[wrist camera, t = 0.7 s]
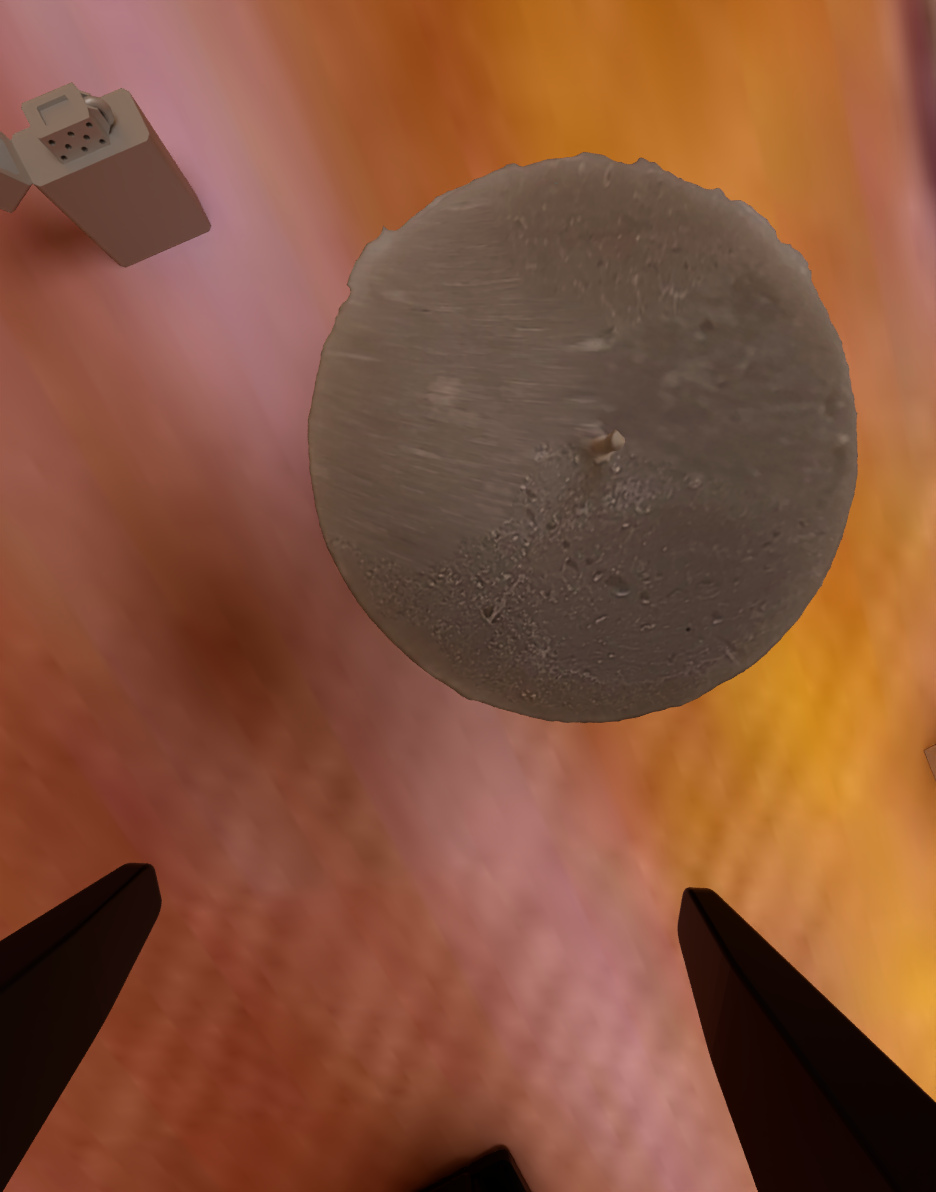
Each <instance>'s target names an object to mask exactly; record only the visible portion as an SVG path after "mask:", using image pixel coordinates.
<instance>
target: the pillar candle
mask: <svg viewBox="0 0 936 1192" xmlns="http://www.w3.org/2000/svg"><path fill="white" fill-rule="evenodd" d="M811 274H812V273H811V270H809V268H808V262H807V261H806V260H805V259H804V257H803V256H802V254H801V253H800V252H798V251H797V250H795V249H794V248H792V247H791V245H790V244H784V243H781V242H780V240H778V238H777V235H776V231H775V229H774V228H773V227H772V226H771V225H770V224H769V222H768V220H767V219H766V218H764V217H763V216H761V215H760V214H758V213H757V212H756V211H755V210H754V209H753V208H752V207H751V206H750V205H748V204H746V203H745V202H743V201H741V200H734V201H731V200H729V199H728V198H727V197H726V196H725V195H724V192H723V191H722V190H721V189H719V188H716V189H713V190H708V189H704V188H702V187H700V186H698V185H696V184H693V183H690V182H686V181H684V180H682V179H681V178H677V177H676V176H675V175H673V174H672V173H670V172H668V171H664V170H662V169H661V167H660V166H658V165H657V164H656V163H655V162H648V161H647V160H646V159H644V158H639V159H638V161H637V162H635V163H633V164H624V163H622V162H616V161H613V160H611V159H609V158H608V157H606V156H604V155H600V154H593V153H586V152H583V153H581V154H579V155H577V156H575V157H567V158H560V159H548V160H544V161H541V162H537V163H534V164H530V165H527V166H524V167H521V166H519V165H517V164H515V163H514V164H509V165H506V166H505V167H504V168H501V169H499V170H496V171H493V172H492V173H490V174H488V175H486V176H484V177H481V178H478V179H475V180H473V181H472V182H470V183H469V184H467V185H464V186H462V187H459V188H456V189H454V190H452V191H448V192H446V193H445V194H443V195H441V196H438V197H436V198H435V199H434V200H433V201H432V202H431V203H430V204H428V205H427V206H426V207H425V208H424V209H423V210H421V211H420V212H418V213H417V214H416V215H415V216H413V217H412V218H411V219H409V220H408V221H407V222H406V223H405V224H404V225H403V226H402V227H401V228H400V229H398V230H396V231H392V230H387V229H386V228H385V227H384V226H383V230H382V233H381V235H380V236H379V237H378V238H377V239H375V240H374V241H372V242H370V243H368V244H367V245H366V246H365V248H364V250H363V251H362V253H361V255H360V257H359V259H358V260H356V262H355V265H354V267H353V269H352V272H351V274H350V276H349V280H348V283H347V285H348V287H349V288H350V291H351V293H350V296H349V297H348V299H347V300H346V301H345V302H344V303H343V304H342V305H341V307H340V308H339V313H338V315H337V316H336V320H335V324H334V327H333V330H332V332H331V333H330V335H329V336H328V338H327V339H326V341H325V343H324V345H323V350H322V352H321V360H320V365H319V369H318V373H317V377H316V382H315V388H314V393H313V397H312V405H311V409H310V413H309V418H308V444H309V460H310V466H309V468H310V475H311V481H312V487H313V493H314V500H315V507H316V511H317V514H318V518H319V524H320V527H321V530H322V534H323V537H324V540H325V542H326V545H327V548H328V550H329V552H330V554H331V556H332V558H333V560H334V562H335V564H336V566H337V567H338V569H339V571H340V573H341V575H342V577H343V579H344V581H345V582H346V584H347V586H348V588H349V589H350V591H351V592H352V594H353V595H354V597H355V598H356V600H357V602H358V603H359V604H360V606H361V607H362V608H363V610H364V611H365V612H366V613H367V615H368V616H369V618H370V619H371V620H372V621H373V622H374V623H375V624H376V625H377V626H378V627H379V629H380V630H381V631H382V632H383V633H384V634H385V635H386V636H387V637H388V638H389V639H390V640H391V641H392V642H393V643H394V644H395V645H396V646H397V647H398V648H399V649H401V650H402V651H403V652H404V653H405V654H406V655H407V656H408V657H409V658H410V659H411V660H412V661H413V662H415V663H416V664H417V665H418V666H420V667H421V668H422V669H424V670H425V671H426V672H428V673H429V674H430V675H432V676H433V677H434V678H436V679H438V680H439V681H441V682H443V683H444V684H446V685H448V686H449V687H450V688H452V689H453V690H455V691H456V692H457V693H458V694H460V695H461V696H463V697H465V698H467V699H469V700H475V701H479V702H482V703H485V704H489V705H491V706H493V707H497V708H500V709H504V710H507V711H511V712H515V713H518V714H521V715H526V716H529V717H533V718H538V719H543V720H546V721H561V722H566V723H570V722H581V723H588V722H593V723H602V722H611V721H621V720H624V719H630V718H636V717H640V716H643V715H646V714H648V713H651V712H656V711H661V710H665V709H667V708H670V707H679V706H682V705H683V704H685V703H688V702H690V701H692V700H695V699H697V698H699V697H700V696H702V695H703V694H705V693H707V692H709V691H711V690H712V689H714V688H715V687H716V686H718V685H720V684H721V683H723V682H725V681H727V680H730V679H732V678H734V677H735V676H737V675H738V674H740V673H742V672H744V671H745V670H746V669H748V668H749V667H751V666H752V665H753V664H755V663H756V662H757V661H758V660H759V659H761V658H762V657H763V656H764V655H766V654H767V652H768V651H769V650H770V649H771V648H772V647H773V646H774V645H775V644H776V643H778V642H779V641H780V640H781V638H782V637H783V635H784V634H785V633H786V632H787V631H788V630H789V629H790V628H791V627H792V626H793V625H794V624H795V623H796V621H797V620H798V619H799V618H800V616H801V615H802V613H803V611H804V610H805V608H806V607H807V605H808V604H809V603H810V601H811V600H812V598H813V597H814V596H815V594H816V592H817V591H818V589H819V588H820V587H821V586H822V583H823V580H824V578H825V577H826V574H827V572H828V570H829V569H830V567H831V564H832V561H833V559H834V557H835V555H836V551H837V549H838V547H839V543H840V541H841V539H842V537H843V533H844V529H845V526H846V523H847V518H848V514H849V509H850V506H851V503H852V500H853V497H854V491H855V487H856V479H857V466H858V465H857V457H858V454H857V432H856V424H857V423H856V419H857V412H856V410H855V404H854V395H853V393H852V388H851V380H850V377H849V366H848V364H847V362H846V359H845V353H844V351H843V348H842V341H841V340H840V338H839V335H838V333H837V331H836V329H835V328H834V326H833V324H832V323H831V321H830V319H829V314H828V312H827V310H826V308H825V307H824V305H823V303H822V302H821V300H820V298H819V296H818V293H817V290H816V289H815V287H814V285H813V283H812V281H811Z"/></svg>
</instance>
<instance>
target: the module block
mask: <svg viewBox="0 0 936 1192" xmlns="http://www.w3.org/2000/svg"><path fill="white" fill-rule="evenodd" d="M924 752H925V755H926V757H927V760H928V762H929V765H930V767H931V770H932V772H933V775H934V777H935V780H936V745H934V746H932V747H930V748H928V749H926V750H924Z"/></svg>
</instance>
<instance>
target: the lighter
mask: <svg viewBox="0 0 936 1192" xmlns="http://www.w3.org/2000/svg"><path fill="white" fill-rule="evenodd" d="M21 108H22V110H23V112H24V114H25V116H26V118H27V120H28V122H29V124H30V126H31V127H29V128H27V129H24V130H22V131H19V132H17V133H15V134H13V136H12V140H10V139H9V138H7V137H6V136H5V135H4V134H3V133H2V132H0V209H2V210H4V211H7V212H9V213H12V212H14V211H15V210H16V208H17V207H18V205H19V204H20V202H21V201H22V199H23V198H24V196H25V195H26V193H27V192H28V190H29V189H30V187H31V186H32V184H34V185H35V186H36V187H37V188H38V189H39V190H40V191H41V192H42V193H43V194H44V195H45V196H46V197H47V198H48V199H50V200H51V201H52V202H53V203H54V204H55V205H56V206H57V207H58V208H59V209H60V210H61V211H62V212H63V213H64V214H66V215H67V216H68V217H69V218H70V219H71V220H72V221H73V222H74V223H75V224H76V225H77V226H78V227H79V228H80V229H82V230H83V231H84V232H85V233H86V234H87V235H88V236H89V237H90V238H91V239H92V240H93V241H94V242H95V243H96V244H98V245H99V246H100V247H101V248H102V249H103V250H104V251H105V252H106V253H107V254H108V255H109V256H110V257H111V258H112V259H114V260H115V261H116V262H117V263H118V264H119V265H120V266H123V267H128V266H130V265H132V264H134V263H137V262H139V261H141V260H144V259H146V258H148V257H150V256H153V255H155V254H157V253H160V252H162V251H164V250H166V249H169V248H171V247H173V246H176V245H178V244H180V243H182V242H185V241H187V240H189V239H192V238H194V237H196V236H198V235H201V234H203V233H205V232H208V231H209V229H210V226H211V224H210V222H209V220H208V218H207V216H206V214H205V212H204V210H203V208H202V206H201V204H200V202H199V200H198V197H197V195H196V193H195V192H194V190H193V189H192V187H191V186H190V184H189V182H188V181H187V179H186V178H185V176H184V175H183V173H182V172H181V170H180V169H179V167H178V166H177V164H176V163H175V161H174V159H173V158H172V156H171V155H170V153H169V152H168V150H167V149H166V147H165V146H164V144H163V143H162V141H161V140H160V138H159V137H158V135H157V133H156V132H155V130H154V129H153V127H152V126H151V124H150V123H149V121H148V120H147V118H146V117H145V115H144V114H143V112H142V111H141V109H140V107H139V106H138V104H137V103H136V101H135V100H134V98H133V97H132V95H131V94H130V92H129V91H127V90H125V89H122V88H121V89H118V90H116V91H113V92H111V93H109V94H106V95H104V96H102V97H95V96H91V95H90V94H89V93H86V92H83V91H80V90H78V89H77V87H76V86H75V85H74V84H73V83H72V82H71V83H69V84H67V85H64V86H62V87H60V88H57V89H55V90H53V91H50V92H48V93H45V94H43V95H41V96H38V97H36V98H34V99H31V100H29V101H27V102H24V103H22V107H21Z"/></svg>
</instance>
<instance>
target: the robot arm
mask: <svg viewBox="0 0 936 1192" xmlns="http://www.w3.org/2000/svg"><path fill="white" fill-rule="evenodd" d="M161 902H162V900H161V894H160V890H159V885H158V881H157V876H156V872H155V869H154V867H153V866H152V865H151V864H148V863H127V864H124V865H123V866H121V867H119V868H117V869H116V870H114V871H113V872H111V873H109V874H108V875H106V876H104V877H103V878H101V879H100V880H98V881H96V882H95V883H93V884H92V885H90V886H88V887H87V888H85V889H83V890H82V891H80V892H79V893H77V894H75V895H74V896H72V897H71V898H69V899H67V900H66V901H64V902H63V903H61V904H59V905H58V906H56V907H54V908H53V909H51V910H50V911H48V912H46V913H45V914H43V915H42V916H40V917H38V918H37V919H35V920H33V921H32V922H30V923H29V924H27V925H25V926H24V927H22V928H21V929H19V930H17V931H16V932H14V933H13V934H11V935H9V936H8V937H6V938H4V939H3V940H1V941H0V1192H3V1190H4V1189H5V1187H6V1185H7V1184H8V1182H9V1180H10V1179H11V1177H12V1175H13V1174H14V1172H15V1170H16V1169H17V1167H18V1165H19V1164H20V1162H21V1160H22V1159H23V1157H24V1155H25V1154H26V1152H27V1150H28V1149H29V1147H30V1145H31V1144H32V1142H33V1140H34V1139H35V1137H36V1135H37V1134H38V1132H39V1130H40V1129H41V1127H42V1125H43V1124H44V1122H45V1120H46V1119H47V1117H48V1115H49V1114H50V1112H51V1110H52V1109H53V1107H54V1105H55V1104H56V1102H57V1100H58V1099H59V1097H60V1096H61V1094H62V1092H63V1091H64V1089H65V1087H66V1086H67V1084H68V1082H69V1081H70V1079H71V1077H72V1076H73V1074H74V1072H75V1071H76V1069H77V1067H78V1066H79V1064H80V1062H81V1061H82V1059H83V1057H84V1056H85V1054H86V1052H87V1051H88V1049H89V1047H90V1046H91V1044H92V1042H93V1041H94V1039H95V1037H96V1035H97V1034H98V1032H99V1030H100V1029H101V1027H102V1025H103V1023H104V1022H105V1020H106V1018H107V1016H108V1014H109V1012H110V1010H111V1009H112V1007H113V1005H114V1003H115V1001H116V999H117V997H118V995H119V993H120V991H121V989H122V987H123V985H124V983H125V981H126V979H127V977H128V975H129V973H130V971H131V969H132V967H133V965H134V963H135V961H136V959H137V957H138V955H139V953H140V951H141V949H142V947H143V945H144V943H145V941H146V939H147V938H148V936H149V934H150V932H151V930H152V928H153V926H154V924H155V922H156V920H157V918H158V915H159V912H160V909H161ZM678 938H679V943H680V946H681V950H682V954H683V958H684V961H685V965H686V969H687V973H688V977H689V980H690V984H691V988H692V992H693V995H694V999H695V1003H696V1007H697V1010H698V1014H699V1018H700V1022H701V1025H702V1029H703V1033H704V1037H705V1040H706V1044H707V1047H708V1051H709V1054H710V1058H711V1061H712V1064H713V1067H714V1070H715V1073H716V1076H717V1079H718V1081H719V1084H720V1087H721V1090H722V1093H723V1095H724V1098H725V1101H726V1104H727V1107H728V1109H729V1112H730V1115H731V1118H732V1121H733V1123H734V1126H735V1129H736V1132H737V1134H738V1137H739V1140H740V1143H741V1146H742V1148H743V1151H744V1154H745V1157H746V1160H747V1162H748V1165H749V1168H750V1171H751V1173H752V1176H753V1179H754V1182H755V1185H756V1187H757V1190H758V1192H936V1102H935V1101H934V1100H933V1099H932V1098H931V1097H930V1096H929V1095H928V1094H927V1093H925V1092H924V1091H923V1090H922V1089H921V1088H920V1087H919V1086H918V1085H917V1084H916V1083H915V1082H914V1081H913V1080H912V1079H911V1078H910V1077H909V1076H908V1075H907V1074H906V1073H905V1072H903V1071H902V1070H901V1069H900V1068H899V1067H898V1066H897V1065H896V1064H895V1063H894V1062H893V1061H892V1060H891V1059H890V1058H889V1057H888V1056H887V1055H886V1054H885V1053H884V1052H882V1051H881V1050H880V1049H879V1048H878V1047H877V1046H876V1045H875V1044H874V1043H873V1042H872V1041H871V1040H870V1039H869V1038H868V1037H867V1036H866V1035H865V1034H864V1033H863V1032H861V1031H860V1030H859V1029H858V1028H857V1027H856V1026H855V1025H854V1024H853V1023H852V1022H851V1021H850V1020H849V1019H848V1018H847V1017H846V1016H845V1015H844V1014H843V1013H842V1012H840V1011H839V1010H838V1009H837V1008H836V1007H835V1006H834V1005H833V1004H832V1003H831V1002H830V1001H829V1000H828V999H827V998H826V997H825V996H824V995H823V994H822V993H821V992H820V991H818V990H817V989H816V988H815V987H814V986H813V985H812V984H811V983H810V982H809V981H808V980H807V979H806V978H805V977H804V976H803V975H802V974H801V973H800V972H799V971H797V970H796V969H795V968H794V967H793V966H792V965H791V964H790V963H789V962H788V961H787V960H786V959H785V958H784V957H783V956H782V955H781V954H780V953H779V952H778V951H776V950H775V949H774V948H773V947H772V946H771V945H770V944H769V943H768V942H767V941H766V940H765V939H764V938H763V937H762V936H761V935H760V934H759V933H758V932H757V931H755V930H754V929H753V928H752V927H751V926H750V925H749V924H748V923H747V922H746V921H745V920H744V919H743V918H742V917H741V916H740V915H739V914H738V913H737V912H736V911H735V910H733V909H732V908H731V907H730V906H729V905H728V904H727V903H726V902H725V901H724V900H723V899H722V898H721V897H720V896H719V895H718V894H717V893H715V892H714V891H713V890H711V889H708V888H692V887H689V888H686V889H685V890H684V892H683V896H682V902H681V908H680V913H679V919H678ZM420 1192H531V1191H530V1189H529V1188H528V1186H527V1184H526V1182H525V1180H524V1178H523V1177H522V1175H521V1173H520V1171H519V1169H518V1167H517V1165H516V1164H515V1162H514V1160H513V1158H512V1156H511V1154H510V1153H509V1152H508V1151H506V1150H498V1151H496V1152H494V1153H492V1154H490V1155H488V1156H486V1157H484V1158H483V1159H481V1160H479V1161H477V1162H475V1163H473V1164H471V1165H469V1166H467V1167H466V1168H464V1169H462V1170H460V1171H458V1172H456V1173H454V1174H452V1175H450V1176H449V1177H447V1178H445V1179H443V1180H441V1181H439V1182H437V1183H435V1184H433V1185H432V1186H430V1187H428V1188H426V1189H424V1190H422V1191H420Z"/></svg>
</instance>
